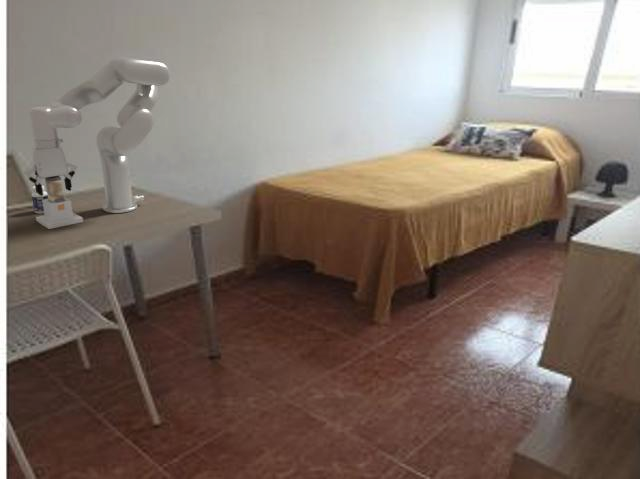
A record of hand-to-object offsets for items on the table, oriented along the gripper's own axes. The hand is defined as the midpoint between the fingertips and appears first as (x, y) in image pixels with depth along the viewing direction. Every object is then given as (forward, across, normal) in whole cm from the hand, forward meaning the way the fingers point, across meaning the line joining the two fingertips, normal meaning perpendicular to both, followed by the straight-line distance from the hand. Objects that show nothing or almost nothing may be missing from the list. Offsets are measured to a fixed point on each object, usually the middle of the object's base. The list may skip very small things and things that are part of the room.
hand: (54, 192), depth 189 cm
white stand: (+11, 0, 0) cm, 11 cm away
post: (+9, 0, 0) cm, 9 cm away
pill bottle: (+11, 0, -16) cm, 20 cm away
